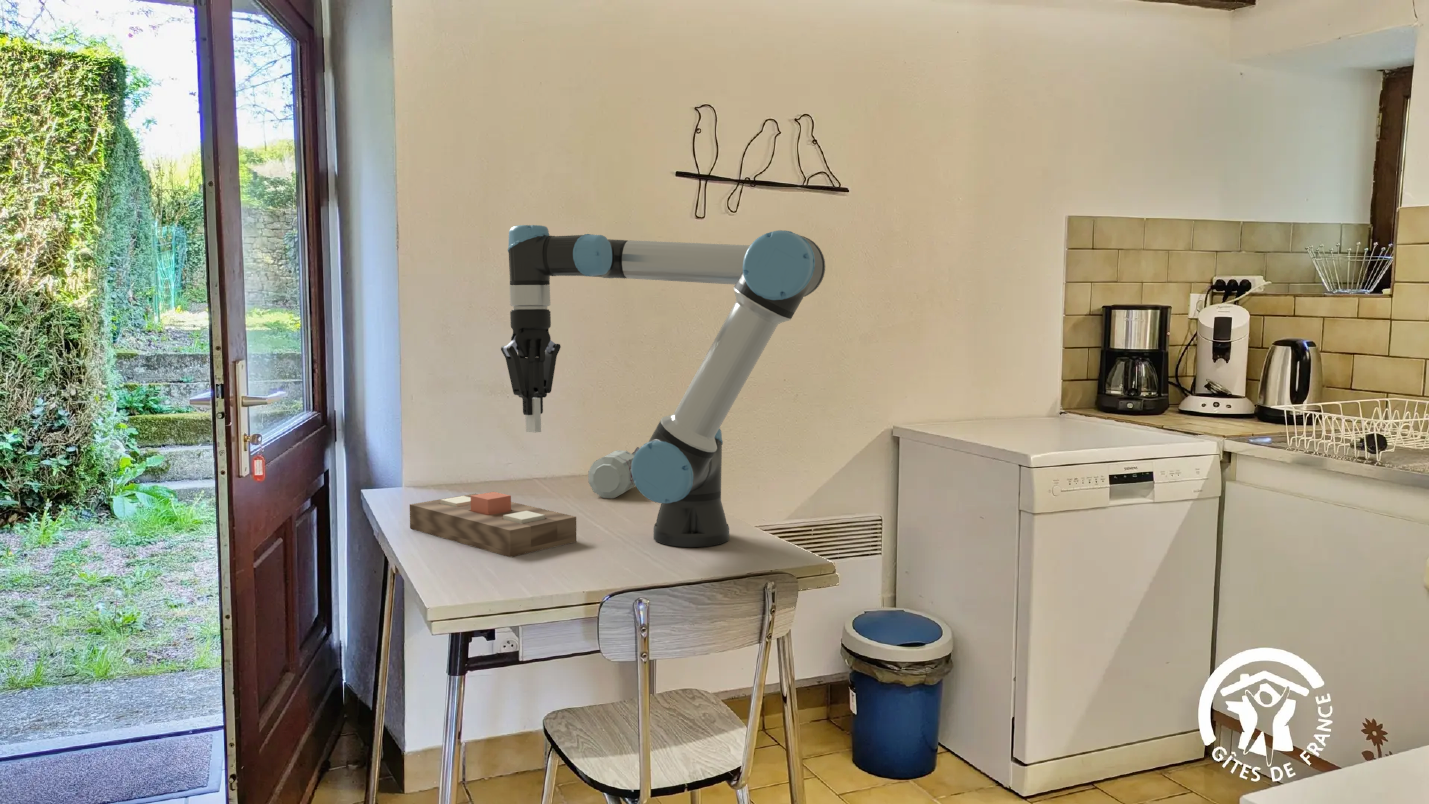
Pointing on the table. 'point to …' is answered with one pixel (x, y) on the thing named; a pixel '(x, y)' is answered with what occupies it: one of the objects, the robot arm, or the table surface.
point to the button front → (523, 517)
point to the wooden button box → (493, 527)
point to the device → (612, 474)
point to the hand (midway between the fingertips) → (533, 431)
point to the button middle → (490, 503)
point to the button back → (457, 501)
